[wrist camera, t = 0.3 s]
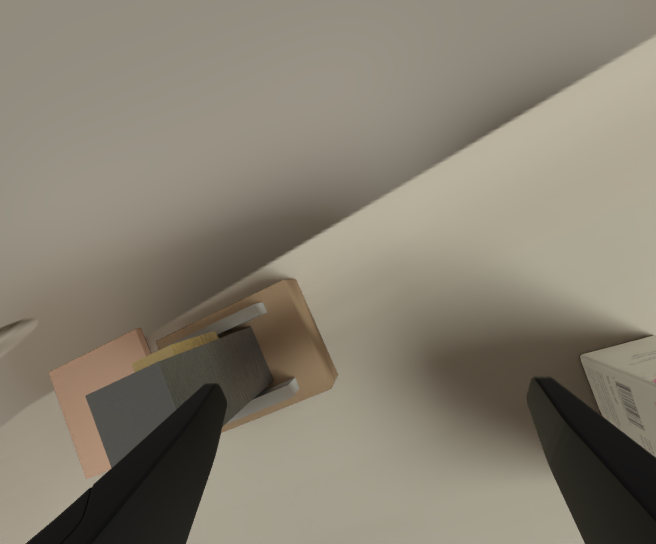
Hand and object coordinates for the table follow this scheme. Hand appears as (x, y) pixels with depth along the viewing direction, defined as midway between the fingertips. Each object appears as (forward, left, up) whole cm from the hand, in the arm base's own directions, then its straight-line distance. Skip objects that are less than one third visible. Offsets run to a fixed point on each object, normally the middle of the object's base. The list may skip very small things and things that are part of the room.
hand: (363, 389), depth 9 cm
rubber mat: (+2, +24, -14) cm, 28 cm away
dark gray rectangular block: (+1, +10, -11) cm, 15 cm away
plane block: (+1, +10, -14) cm, 17 cm away
